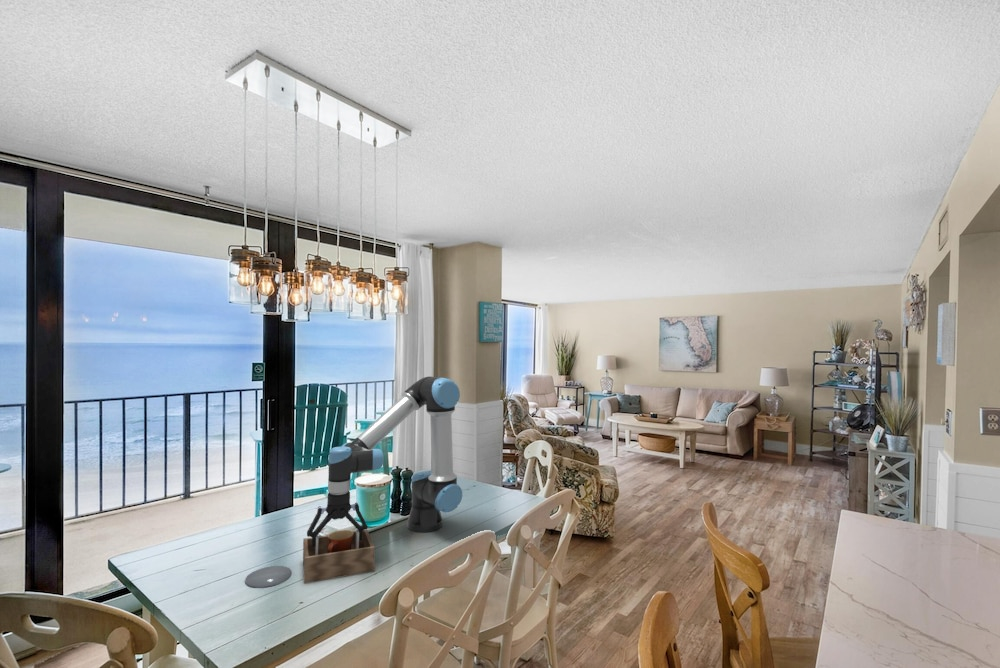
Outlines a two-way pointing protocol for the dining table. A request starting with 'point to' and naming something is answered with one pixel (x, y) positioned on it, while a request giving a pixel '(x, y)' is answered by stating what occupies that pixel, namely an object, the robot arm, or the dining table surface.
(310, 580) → the box
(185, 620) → the dining table surface
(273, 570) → the coaster
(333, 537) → the mug
